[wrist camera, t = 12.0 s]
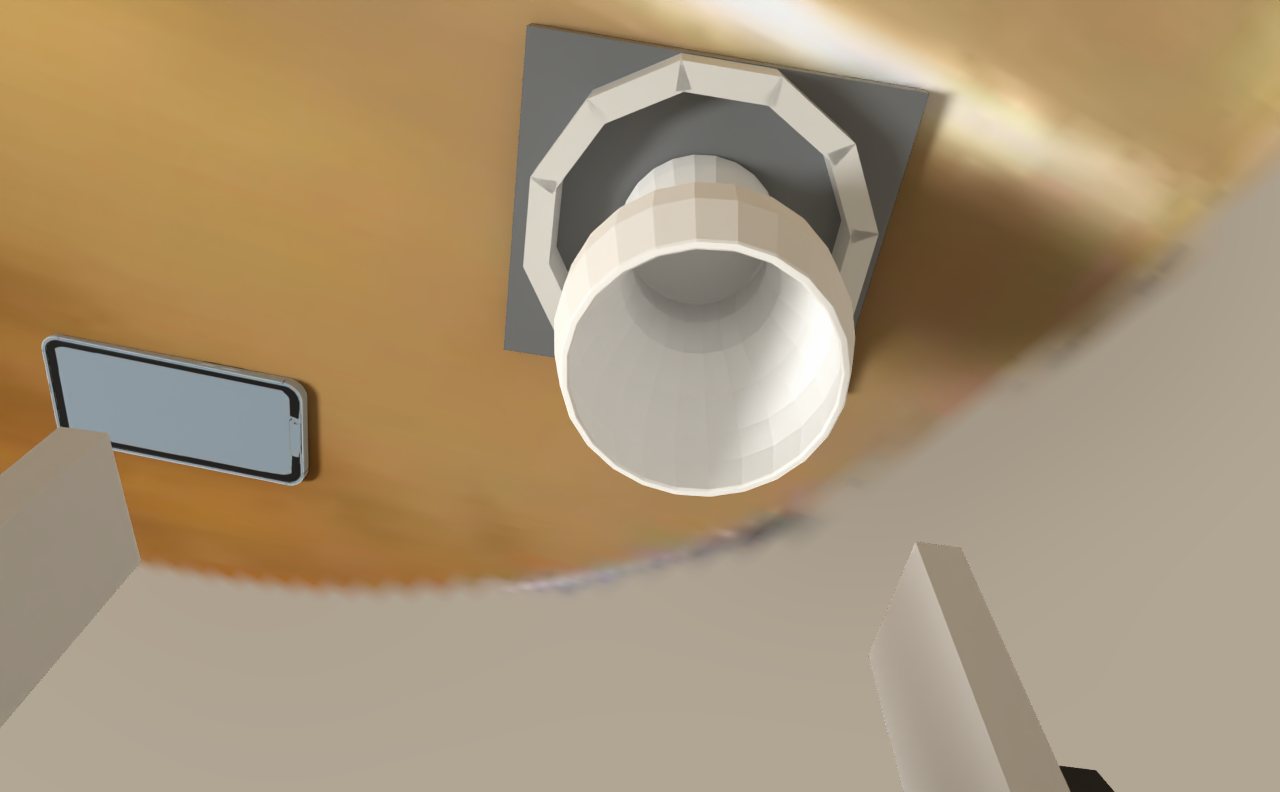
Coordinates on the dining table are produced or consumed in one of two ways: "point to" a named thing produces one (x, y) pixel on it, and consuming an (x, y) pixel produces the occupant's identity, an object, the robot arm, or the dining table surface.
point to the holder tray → (691, 152)
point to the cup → (704, 333)
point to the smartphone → (181, 408)
